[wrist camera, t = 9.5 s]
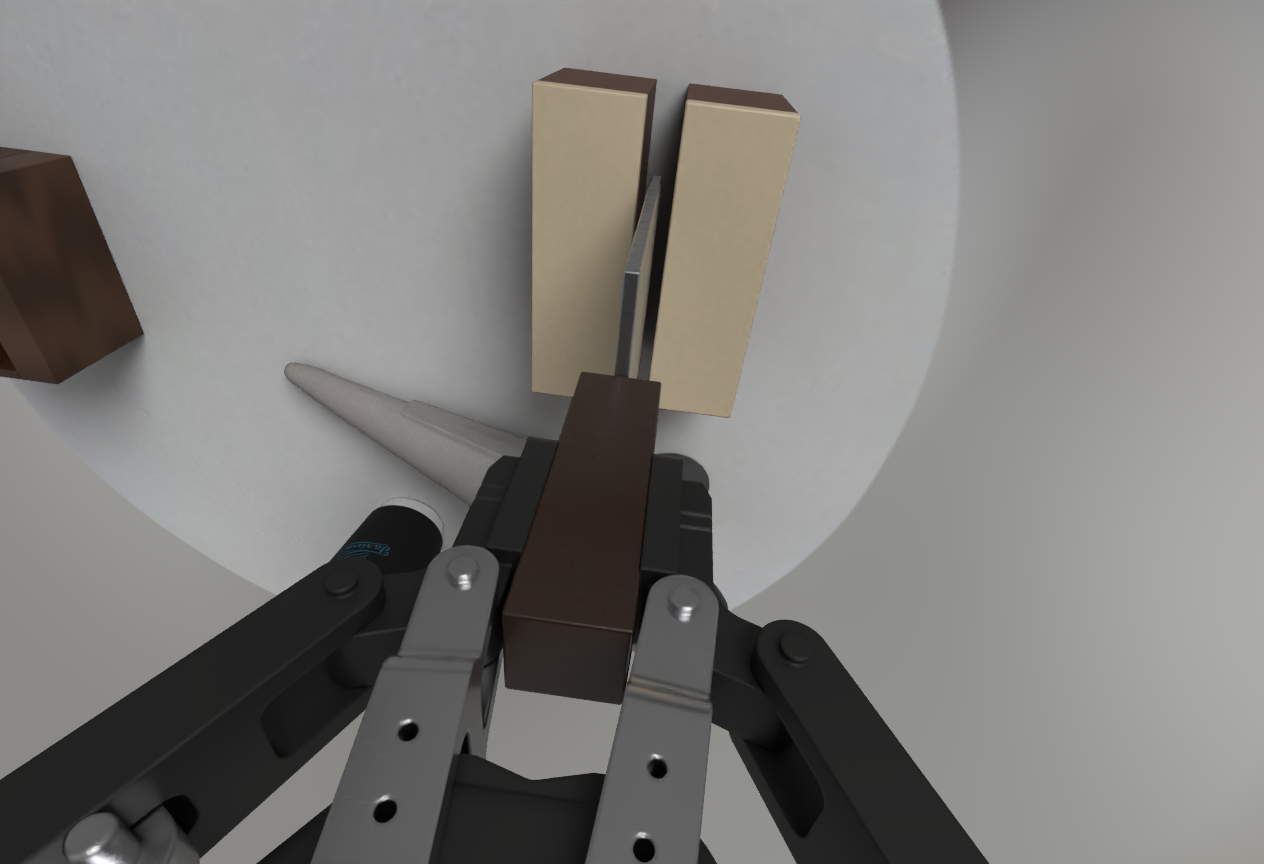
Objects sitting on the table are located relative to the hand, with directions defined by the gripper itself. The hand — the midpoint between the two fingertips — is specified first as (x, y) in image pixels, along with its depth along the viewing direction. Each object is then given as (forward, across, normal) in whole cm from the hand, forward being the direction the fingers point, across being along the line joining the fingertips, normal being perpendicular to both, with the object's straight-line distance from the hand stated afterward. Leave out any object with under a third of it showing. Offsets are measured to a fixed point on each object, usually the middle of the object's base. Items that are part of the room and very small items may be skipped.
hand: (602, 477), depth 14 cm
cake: (+19, 0, 0) cm, 19 cm away
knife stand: (+19, +32, +5) cm, 38 cm away
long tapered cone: (+19, +12, +15) cm, 27 cm away
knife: (+13, 0, 0) cm, 13 cm away
